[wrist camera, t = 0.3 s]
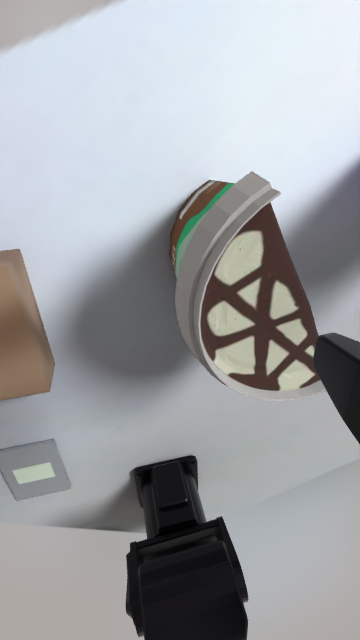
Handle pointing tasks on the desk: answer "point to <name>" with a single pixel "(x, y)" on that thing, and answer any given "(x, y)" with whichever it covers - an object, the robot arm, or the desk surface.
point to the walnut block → (21, 333)
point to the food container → (242, 292)
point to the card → (34, 469)
